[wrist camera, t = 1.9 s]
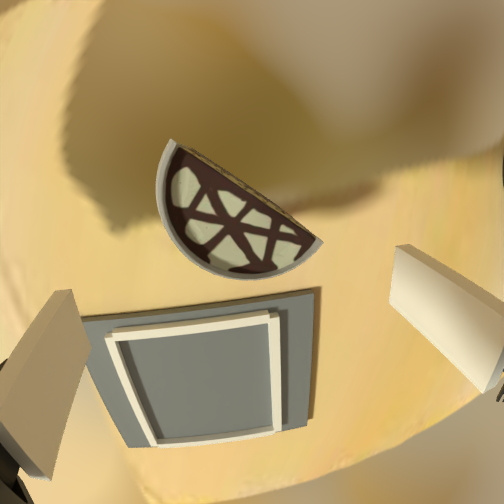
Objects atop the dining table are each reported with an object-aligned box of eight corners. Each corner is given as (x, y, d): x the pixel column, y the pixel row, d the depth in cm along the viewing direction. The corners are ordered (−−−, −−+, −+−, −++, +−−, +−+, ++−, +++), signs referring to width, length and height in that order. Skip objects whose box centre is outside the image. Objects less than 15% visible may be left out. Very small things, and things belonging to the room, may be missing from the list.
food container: (140, 197, 27) (114, 226, 18) (177, 138, 26) (168, 137, 17) (250, 264, 31) (275, 317, 22) (287, 212, 30) (329, 246, 21)
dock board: (310, 289, 34) (317, 297, 32) (305, 420, 41) (309, 430, 39) (72, 318, 30) (66, 328, 28) (128, 442, 38) (127, 452, 36)
